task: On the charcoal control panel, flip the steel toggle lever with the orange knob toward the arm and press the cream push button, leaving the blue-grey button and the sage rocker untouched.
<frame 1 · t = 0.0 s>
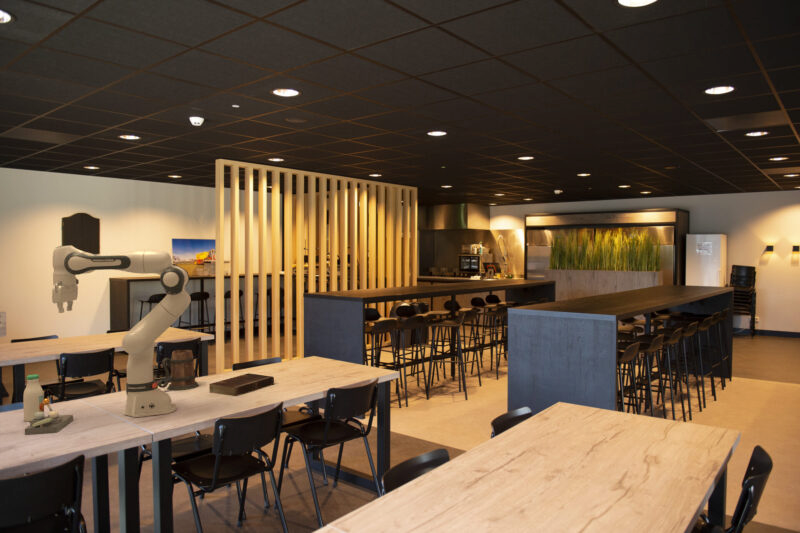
hand: (65, 311, 256), 48 cm above the table, fingers open, 8 cm apart
panel: (49, 427, 242), on the table
button cream: (53, 414, 240), point 6 cm above the table, slide at 0.0 cm
rocker sage: (42, 422, 235), point 4 cm above the table, hinge at 15.0°
toggle lever: (47, 403, 246), point 9 cm above the table, hinge at 25.0°
tankard: (178, 388, 310), on the table
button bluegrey: (39, 415, 239), point 6 cm above the table, slide at 0.0 cm
milk bottle: (34, 419, 255), on the table
dark brown flat block: (242, 389, 307), on the table
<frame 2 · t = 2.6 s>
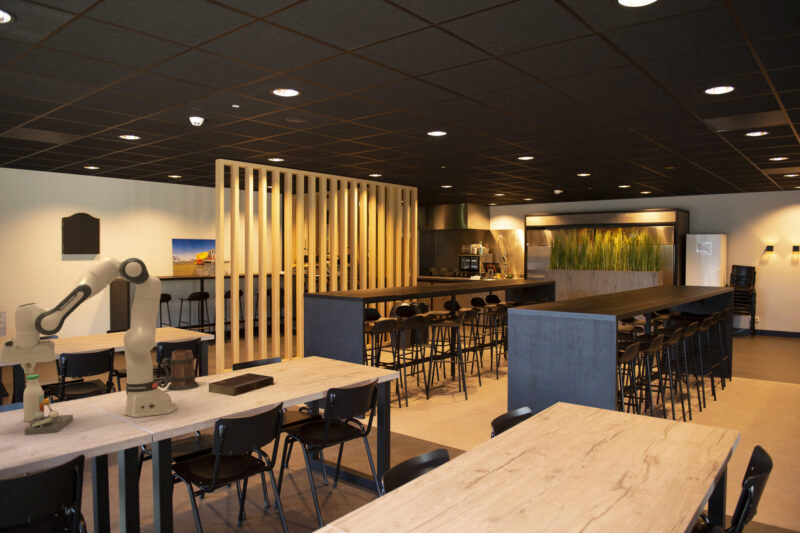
hand: (28, 373, 244), 23 cm above the table, fingers closed
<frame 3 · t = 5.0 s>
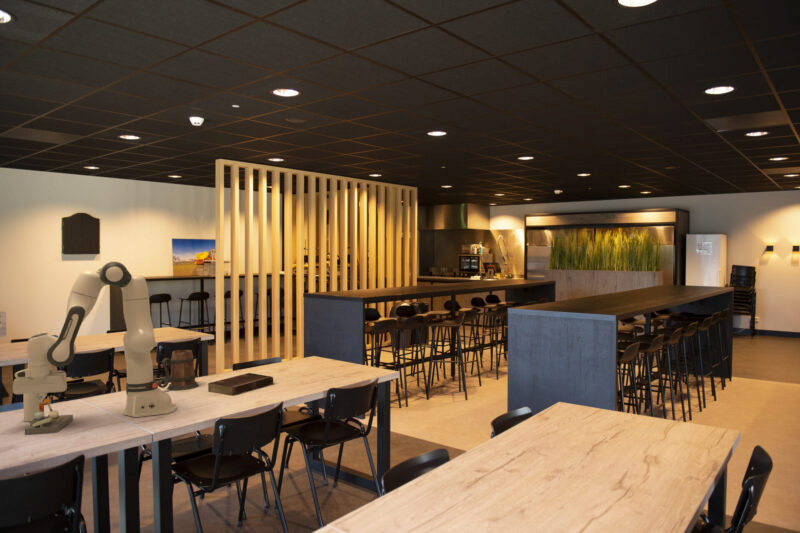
hand: (40, 403, 245), 10 cm above the table, fingers closed
toggle lever: (48, 403, 246), point 9 cm above the table, hinge at 22.5°, touching gripper
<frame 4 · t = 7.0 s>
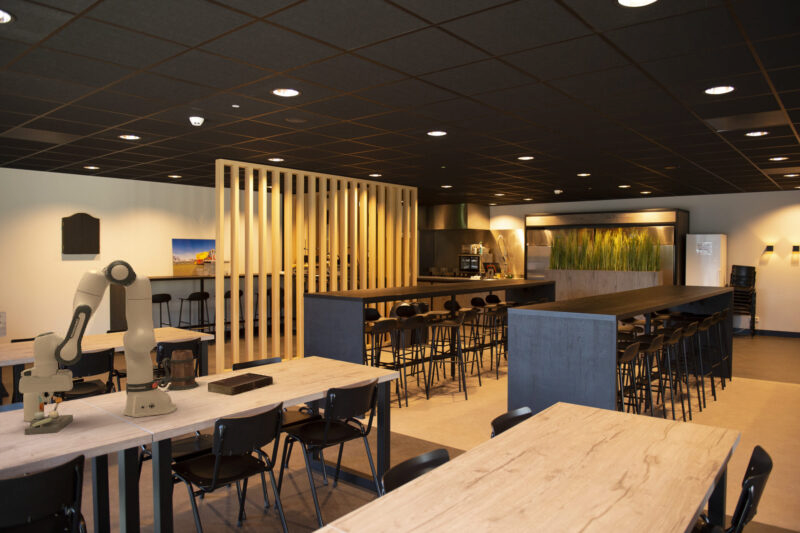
hand: (46, 402, 245), 10 cm above the table, fingers closed
toggle lever: (57, 402, 246), point 9 cm above the table, hinge at -21.6°
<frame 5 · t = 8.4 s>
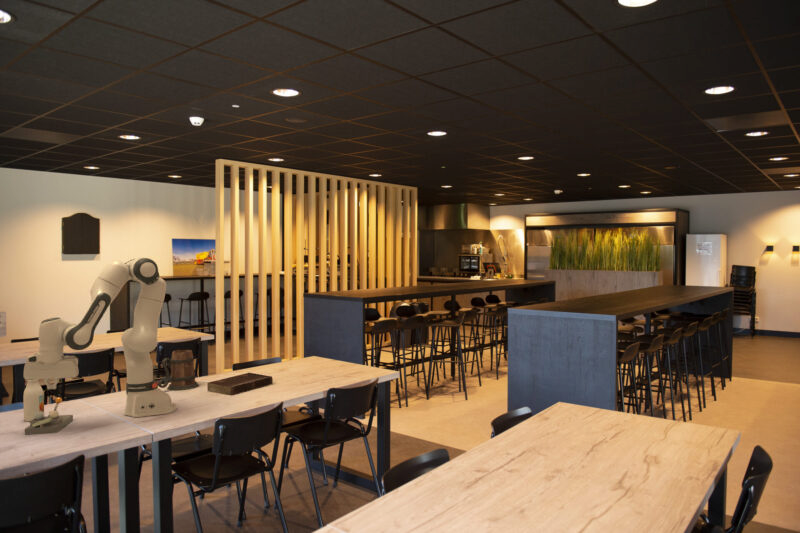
hand: (51, 388, 240), 17 cm above the table, fingers closed
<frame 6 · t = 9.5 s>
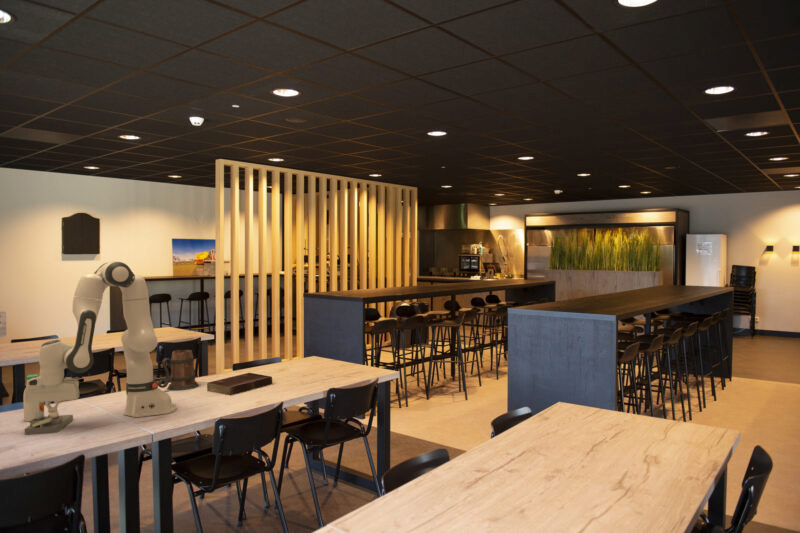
hand: (52, 411, 240), 7 cm above the table, fingers closed
button cream: (53, 414, 240), point 6 cm above the table, slide at 0.0 cm, touching gripper
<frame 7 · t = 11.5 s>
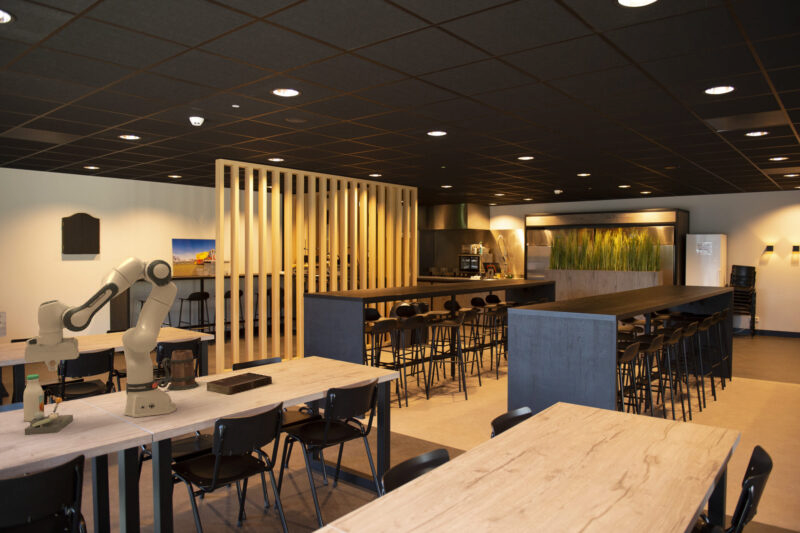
hand: (53, 370, 243), 24 cm above the table, fingers closed
button cream: (53, 417, 240), point 5 cm above the table, slide at 1.3 cm
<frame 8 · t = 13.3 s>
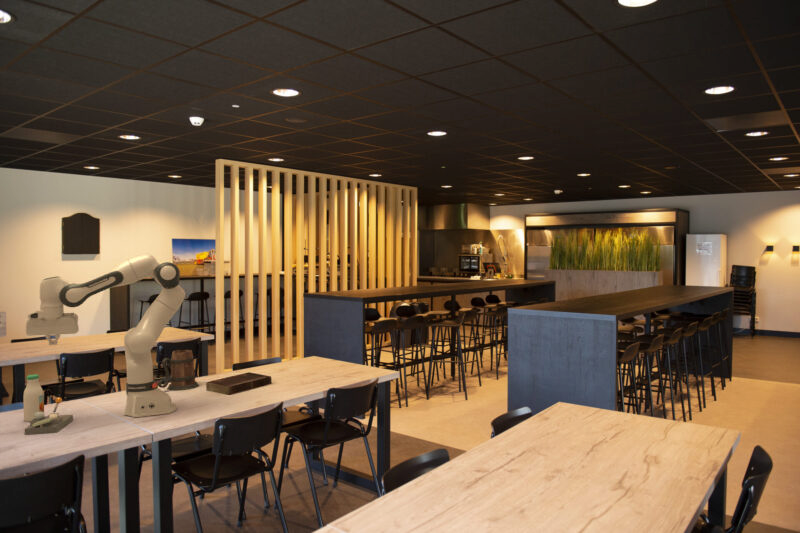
hand: (53, 344, 250), 34 cm above the table, fingers closed
at the end: toggle lever at -22° (first picture: +25°); button cream slide at 1.3 cm; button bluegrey slide at 0.0 cm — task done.
